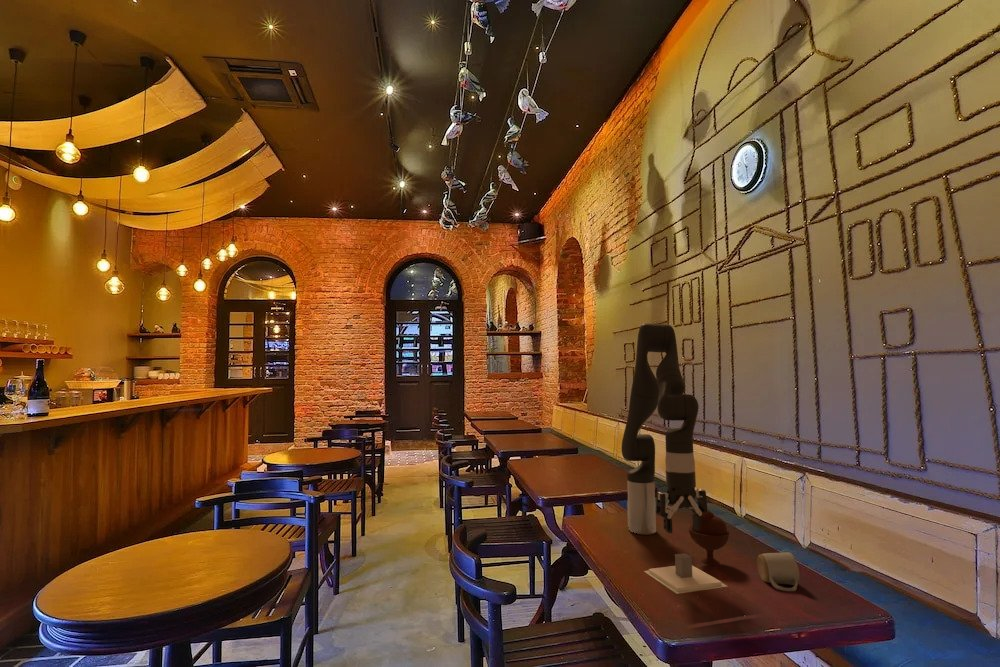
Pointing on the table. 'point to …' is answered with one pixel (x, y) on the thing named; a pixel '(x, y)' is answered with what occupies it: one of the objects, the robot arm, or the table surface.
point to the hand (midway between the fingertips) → (682, 531)
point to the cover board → (684, 582)
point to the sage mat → (684, 590)
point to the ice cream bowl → (710, 535)
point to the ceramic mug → (779, 570)
